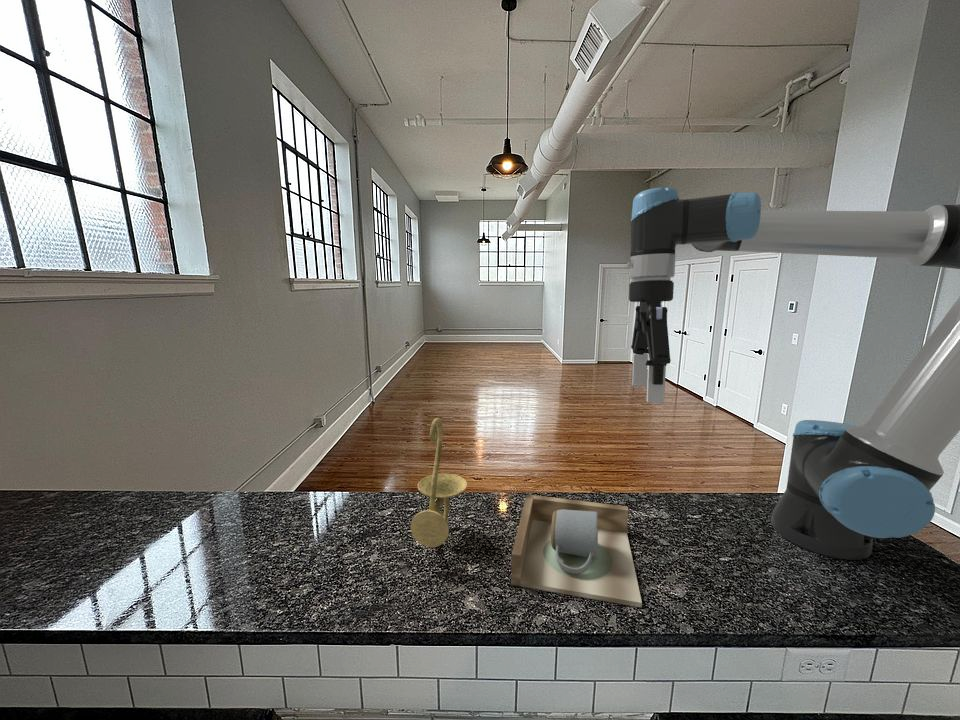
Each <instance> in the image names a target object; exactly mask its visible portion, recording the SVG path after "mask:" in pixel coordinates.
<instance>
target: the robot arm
mask: <svg viewBox="0 0 960 720" xmlns="http://www.w3.org/2000/svg"><path fill="white" fill-rule="evenodd" d="M761 199H762V198H761V196H760V194H759V193H757V192H753V191H752V192H751V191H750V192H733V193H729V194H727V193H726V194H721V195H720V194H719V195H713V196H704V197H697V198H689V199H684V198H680V197H679V192H678V190H677V189H676V188H675V187H670V186H669V187H654V188H649V189H645V190H642V191H640V192H639V193H637V194H636V195H635V196H634V198H633V199H632V200H633V201H632V210H631V219H630V261H629V262H627V263H626V267H627V268H630V269H629V278H630V279H631V280H633V281H631V282H630V283H629V288H628V300H629V302H631V303H640V305H636V307H635V317H634V318H635V319H634V326H633V332H632V341H631V346H630V347H631V349H632V355H633V356H632V383H631V384H632V386H634V387H636V386H637V387H646V403H654V404H655V403H657V404H659V403H661V404H662V403H665V396H666V395H665V391H666V372H667V371H666V370H667V365H669V364H670V363H671V361H672V360H671V353H670V341H669V329H668V328H669V327H668V307H667V306H662V304H661V303H662V302H671V301H673V299H674V288H675V287H674V286H675V284H674V283H675V282H673V280H672V278H674V277H675V275H676V273H675V271H676V247H677V246H678V245H691V247H693V248H695V249H696V250H697V251H699V252H705V253H712V252H716V251H719V252H720V251H721V252H723V251H725V252H750V253H751V252H753V253H773V254H775V253H777V254H792V255H794V254H795V255H815V256H836V257H837V256H839V257H859V258H860V257H862V258H881V259H882V258H883V259H884V258H885V259H905V260H907V262H908V263H909V264H910V265H912V266H919V267H934V268H935V267H936V268H944V269H945V268H946V269H947V268H948V269H954V270H960V203H958V204H935V205H932V206H930V207H928V208H927V209H925V210H923V211H919V210H917V211H915V210H914V211H909V210H908V211H906V210H905V211H904V210H903V211H901V210H897V211H896V210H895V211H893V210H887V211H886V210H881V211H880V210H878V211H877V210H772V209H770V210H768V209H767V210H765V209H764V210H762V200H761ZM959 432H960V296H958V298H957V299H956V300H955V302H954V303H953V304H952V306H951V307H950V309H949V310H948V311H947V312H946V315H944V317H943V318H942V320H941V321H940V322H939V324H938V325H937V326H936V328H935V329H934V330H933V332H932V333H931V335H929V337H928V339H926V341H925V343H924V344H923V345H922V347H921V348H920V349H919V350H918V352H917V353H916V355H915V356H914V357H913V359H912V360H911V362H910V363H909V364H908V366H907V367H906V368H905V370H904V371H903V372H902V373H901V375H899V378H898V379H897V381H896V382H895V384H894V385H893V386H892V387H891V389H890V390H889V392H888V393H887V394H886V396H885V397H884V398H883V399H882V401H881V402H880V404H879V405H878V406H877V407H876V408H875V410H874V412H873V413H872V414H871V416H870V417H869V418H868V420H867V421H866V423H864V424H862V425H855V424H850V423H842V422H836V421H827V420H820V419H819V420H817V419H804V420H803V419H802V420H800V421H798V422H797V423H796V424H795V427H794V432H793V433H792V445H791V453H790V460H789V461H790V462H789V467H788V475H787V482H786V483H787V484H786V488H785V491H784V493H783V494H782V495H781V497H780V498H779V500H778V501H777V503H776V505H775V506H774V508H773V510H772V513H771V518H770V519H771V520H770V524H771V527H772V526H773V527H772V528H773V530H774V531H776V533H778V535H780V536H781V537H783V538H784V539H786V540H787V541H789V542H790V543H792V544H794V545H796V546H798V547H801V548H804V549H805V550H808V551H810V552H813V553H817V554H819V555H823V556H826V557H830V558H835V559H841V560H846V561H847V560H850V561H857V560H858V561H861V560H864V559H867V558H869V557H870V556H871V554H872V551H873V546H874V545H873V544H874V541H873V540H874V539H873V538H878V539H889V538H895V539H896V538H897V539H898V538H904V537H908V536H911V535H915V534H916V533H918V532H920V531H922V530H924V529H925V528H926V527H928V525H929V524H930V523H931V522H932V520H933V518H934V516H935V512H936V505H935V504H936V503H934V498H933V494H932V492H931V489H933V488H934V486H935V485H936V484H937V482H938V481H939V480H940V479H941V478H942V476H943V475H944V474H945V471H944V470H943V467H942V465H941V463H940V461H939V457H940V455H942V452H944V450H945V449H946V448H947V446H948V445H950V443H951V442H952V441H953V439H954V438H955V437H956V436H957V435H958V433H959Z"/></svg>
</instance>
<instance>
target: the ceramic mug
mask: <svg viewBox="0 0 960 720" xmlns="http://www.w3.org/2000/svg"><path fill="white" fill-rule="evenodd" d="M551 545H552V548H553V549H554V550H556V558H557V562H558V565H559V566H560V567H561V568H562V569H563V570H564V571H566V572H567V573H570V574H581V573H583V572H585V571H586V570H587V569H588V568H589V566H590V564H591V561H592V559H597V555H598V513H597V512H594V511H578V510H566V509H562V510H556V511H554V513H553V516H552V525H551ZM559 552H561V553H566V554H572V555H576V556H581V557H586V558H588V560H587V562H586V563H585V564H584V565H582V566H581V567H579V568H571V567H569V566H567V565H565V564H564V563H563V562H562V561H561V560H560V558H559Z"/></svg>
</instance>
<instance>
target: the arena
mask: <svg viewBox="0 0 960 720" xmlns="http://www.w3.org/2000/svg"><path fill="white" fill-rule="evenodd" d="M562 509H566V510H578V511H594V512H597V513H598V555H597V559H592V561H591V564H590V566H589V568H588V569H587V570H586V571H585V572H583V573H581V574H570V573H567V572H566V571H564V570H563V569H562V568H561V567H560V566H559V565H558V562H557V558H556V550H554V549H553V548H552V545H551V525H552V516H553V513H554V511H556V510H562ZM628 520H629V508H628V506H626V505H619V504H617V505H616V504H610V503H602V502H601V503H599V502H593V501H592V502H591V501H584V500H577V499H576V500H575V499H568V498H561V497H551V496H544V495H536V494H534V495H533V494H528V493H527V494H526V496H525V499H524V503H523V507H522V511H521V515H520V519H519V524H518V527H517V531H516V536H515V540H514V543H513V547H512V552H511V567H510V568H511V570H510V573H511V574H510V585H511V586H517V587H521V588H526V589H527V588H529V589H534V590H538V591H546V592H550V593H556V594H562V595H567V596H573V597H579V598H585V599H591V600H594V601H595V600H596V601H602V602H607V603H613V604H620V605H624V606H630V607H637V608H642V606H643V602H642V596H641V592H640V588H639V582H638V578H637V573H636V569H635V564H634V560H633V555H632V554H633V553H632V551H631V546H630V542H629V537H628ZM559 558H560V560H561V561H562V562H563V563H564V564H565V565H567V566H569V567H571V568H579V567H581V566H582V565H584V564H585V563H586V562H587V560H588V558H586V557H581V556H576V555H572V554H566V553H561V552H559Z"/></svg>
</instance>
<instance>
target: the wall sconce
mask: <svg viewBox="0 0 960 720" xmlns="http://www.w3.org/2000/svg"><path fill="white" fill-rule="evenodd" d="M443 429H444V428H443V423H442V420H441V419H440V418H439V417H435V418H434V419H433V421H431V425H430V430H429V441H430V442H431V443H432V444H436V449H435V450H436V451H435V457H434V462H433V468H432V469H433V470H432V474H431V475H428V476H426V477H424V478H422V479H420V481H418V483H417V489H418V491H419V492H420V493H421V494H423V495H424V496H427V497H428V498H429V507H428V508H429V509H427V510H422V511H420V512H418V513H416V514H415V516H413V518H412V521H411V524H410V531H411V534H412V537H413V538H414V540H415V541H416V542H418V543H419V544H420V545H422V546H425V547H428V548H436V547H440V546H441V545H443V544H444V543H445V542H446V541H447V539H448V537H449V533H450V529H449V524H448V520H449V512H450V511H449V510H450V498H453V497H455V496H459V495H460V494H462V493H463V492H464V491H466V488H467V487H468V482H467V480H466V479H465V478H464V477H462V476H460V475H458V474H454V473H439V471H440V470H439V468H440V462H441V455H442V449H443V448H442V447H443V441H444V440H443V438H444V432H443V431H444V430H443ZM436 432H437V433H436ZM443 506H444V507H443ZM442 508H443V512H441V509H442Z"/></svg>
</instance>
